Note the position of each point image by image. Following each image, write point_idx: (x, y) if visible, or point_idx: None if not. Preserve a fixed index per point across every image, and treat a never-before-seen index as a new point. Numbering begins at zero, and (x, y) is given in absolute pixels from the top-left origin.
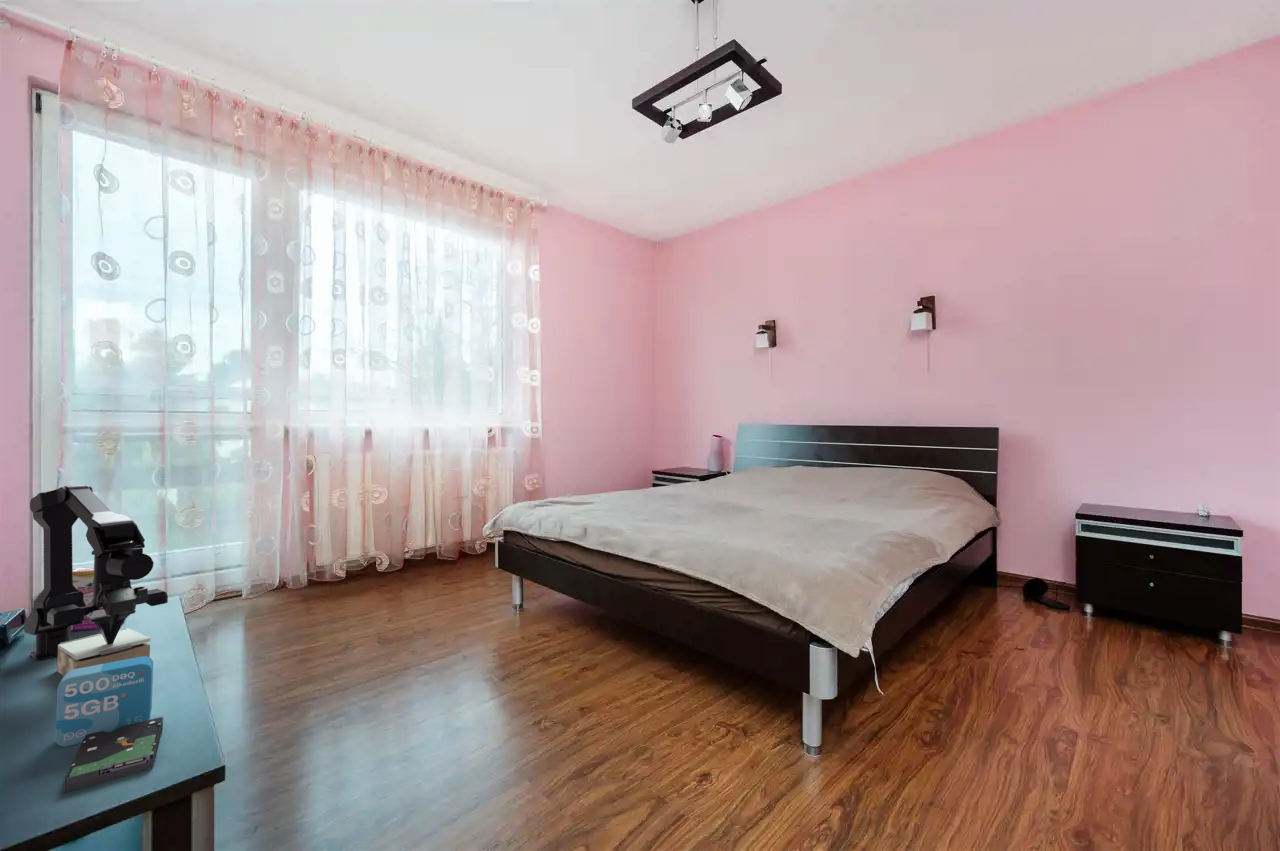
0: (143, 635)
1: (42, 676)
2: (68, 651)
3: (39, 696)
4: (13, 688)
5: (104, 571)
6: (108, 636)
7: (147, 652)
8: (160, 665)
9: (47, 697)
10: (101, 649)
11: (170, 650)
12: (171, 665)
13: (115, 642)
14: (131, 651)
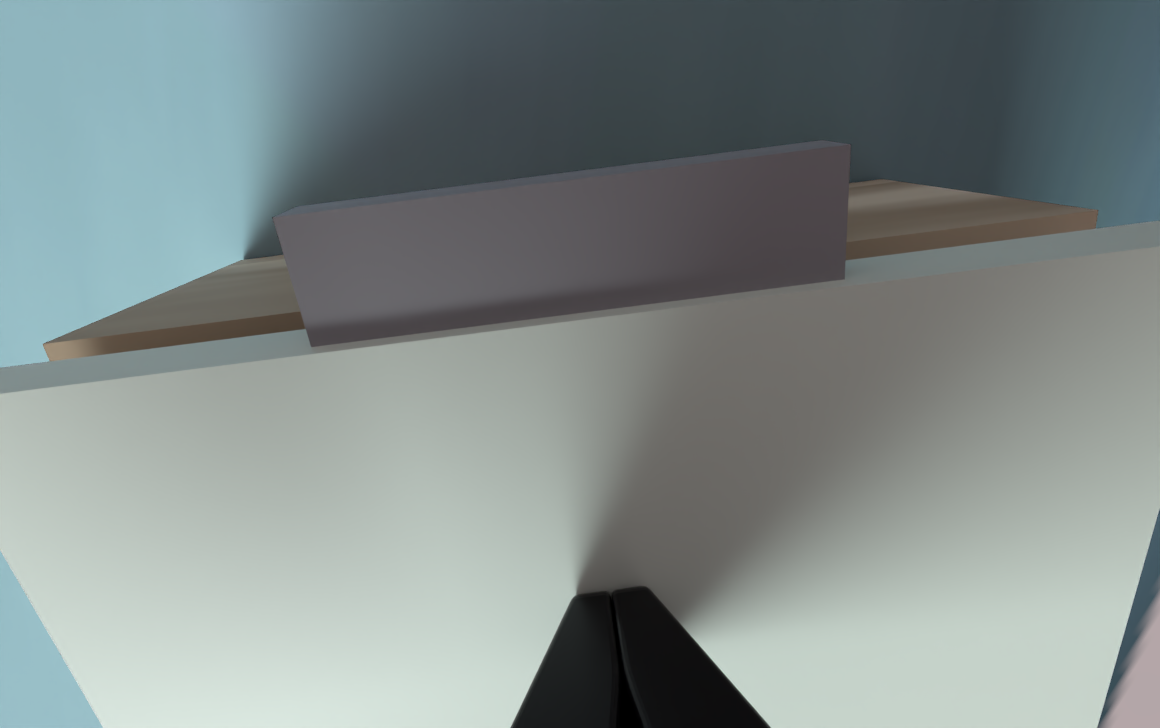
0: (102, 704)
1: None
2: (1098, 697)
3: (1143, 175)
4: (1155, 565)
5: None
6: (690, 708)
7: (162, 302)
8: (130, 190)
9: (1121, 70)
10: (808, 331)
11: None
12: (3, 72)
13: (531, 628)
14: None
